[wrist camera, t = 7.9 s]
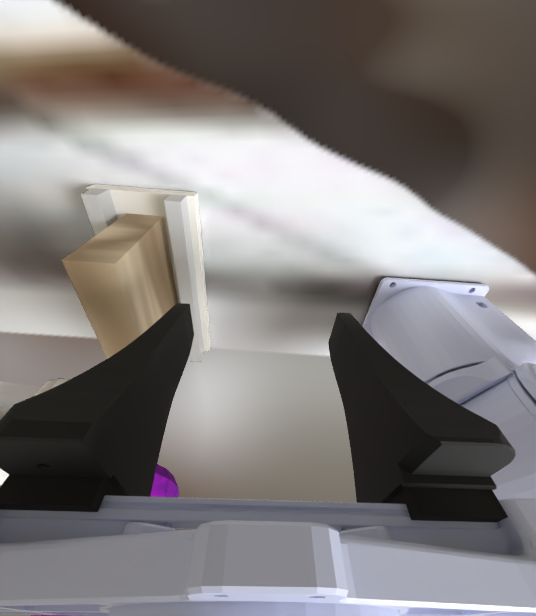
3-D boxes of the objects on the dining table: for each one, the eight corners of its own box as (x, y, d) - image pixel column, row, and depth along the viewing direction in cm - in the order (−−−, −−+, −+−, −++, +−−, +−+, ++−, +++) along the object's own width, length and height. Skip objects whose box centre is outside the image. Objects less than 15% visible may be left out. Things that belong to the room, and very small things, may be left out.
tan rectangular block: (163, 216, 18) (115, 263, 12) (184, 339, 25) (160, 404, 19) (126, 213, 18) (61, 259, 12) (159, 338, 25) (127, 402, 19)
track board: (197, 192, 18) (188, 202, 16) (210, 344, 27) (206, 362, 25) (94, 183, 17) (71, 193, 15) (143, 340, 26) (133, 358, 24)
